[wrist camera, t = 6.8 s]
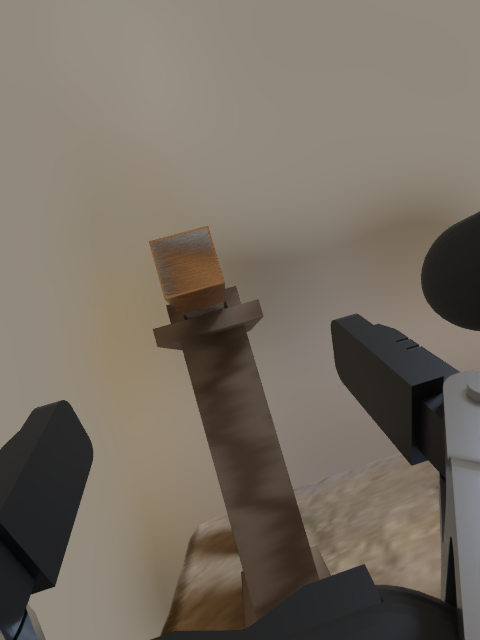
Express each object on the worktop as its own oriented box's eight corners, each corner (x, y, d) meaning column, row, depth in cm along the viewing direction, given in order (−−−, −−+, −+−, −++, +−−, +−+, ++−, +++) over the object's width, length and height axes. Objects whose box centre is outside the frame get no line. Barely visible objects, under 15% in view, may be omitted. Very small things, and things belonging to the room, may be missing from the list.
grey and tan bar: (225, 325, 41) (218, 301, 41) (224, 282, 17) (208, 225, 17) (200, 332, 40) (194, 308, 41) (164, 299, 17) (148, 241, 17)
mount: (321, 562, 41) (245, 307, 44) (395, 721, 23) (259, 274, 26) (245, 588, 40) (174, 327, 43) (261, 774, 22) (137, 308, 26)
